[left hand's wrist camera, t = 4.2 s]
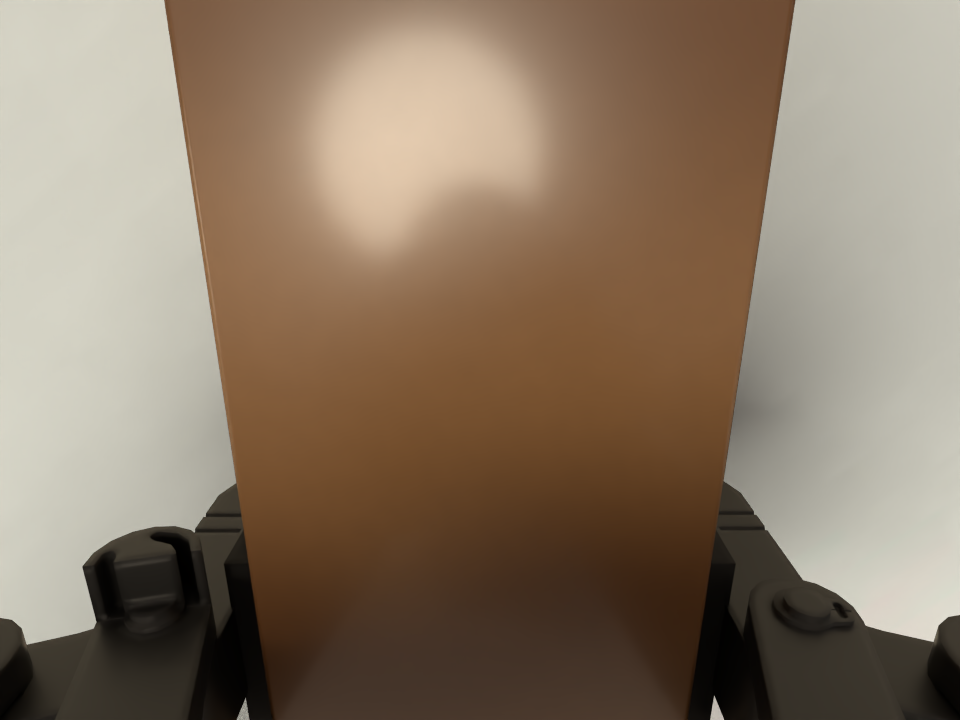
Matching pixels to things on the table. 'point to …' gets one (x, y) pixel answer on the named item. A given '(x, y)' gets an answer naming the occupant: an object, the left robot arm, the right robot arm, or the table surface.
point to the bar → (479, 335)
